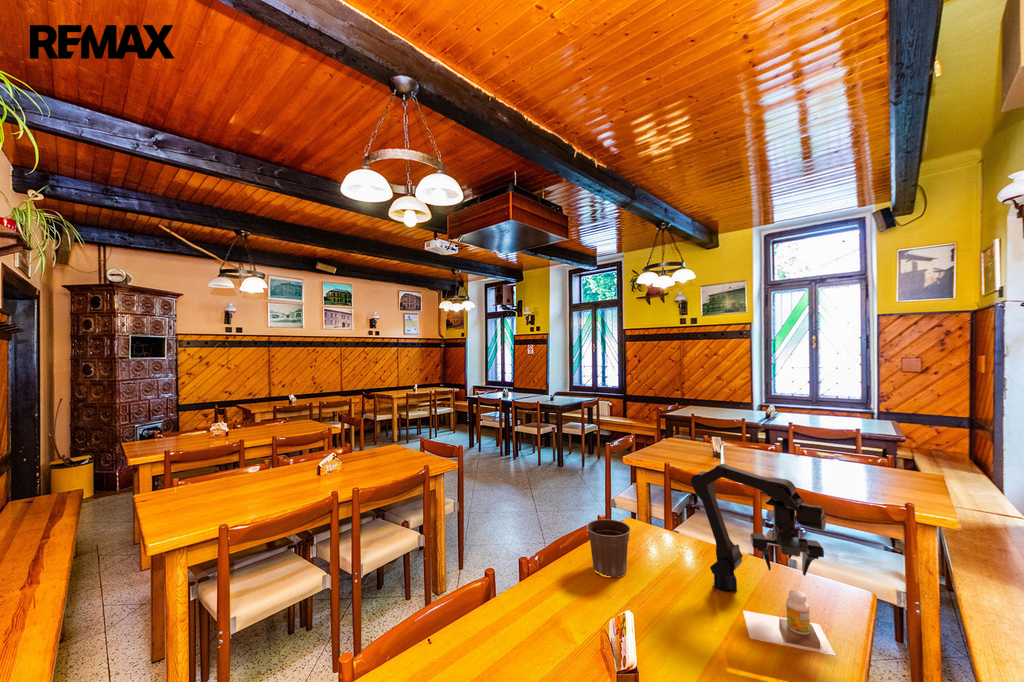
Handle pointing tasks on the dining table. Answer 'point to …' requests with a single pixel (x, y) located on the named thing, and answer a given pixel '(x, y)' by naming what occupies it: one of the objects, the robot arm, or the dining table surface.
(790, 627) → the supplement bottle
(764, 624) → the white flat board
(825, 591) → the dining table surface
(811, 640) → the grey plinth
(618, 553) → the plant pot
